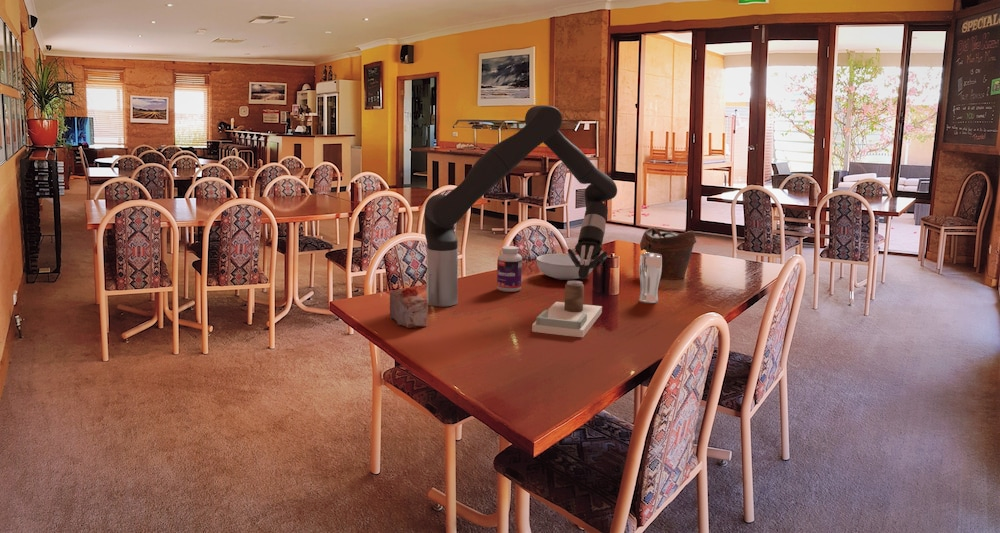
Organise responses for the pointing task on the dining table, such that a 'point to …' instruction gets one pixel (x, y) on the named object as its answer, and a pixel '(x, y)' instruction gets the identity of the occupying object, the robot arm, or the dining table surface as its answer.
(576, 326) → the board
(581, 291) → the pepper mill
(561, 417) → the dining table surface
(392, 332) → the dining table surface
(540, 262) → the serving bowl
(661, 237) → the brown bucket
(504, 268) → the pill bottle
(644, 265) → the beer glass
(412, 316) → the grey stone block
